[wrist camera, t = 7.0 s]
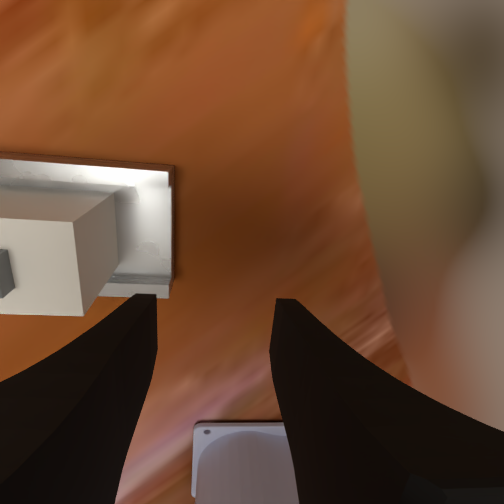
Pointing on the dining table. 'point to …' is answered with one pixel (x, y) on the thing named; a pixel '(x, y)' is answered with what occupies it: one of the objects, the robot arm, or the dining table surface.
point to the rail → (126, 211)
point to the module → (55, 249)
